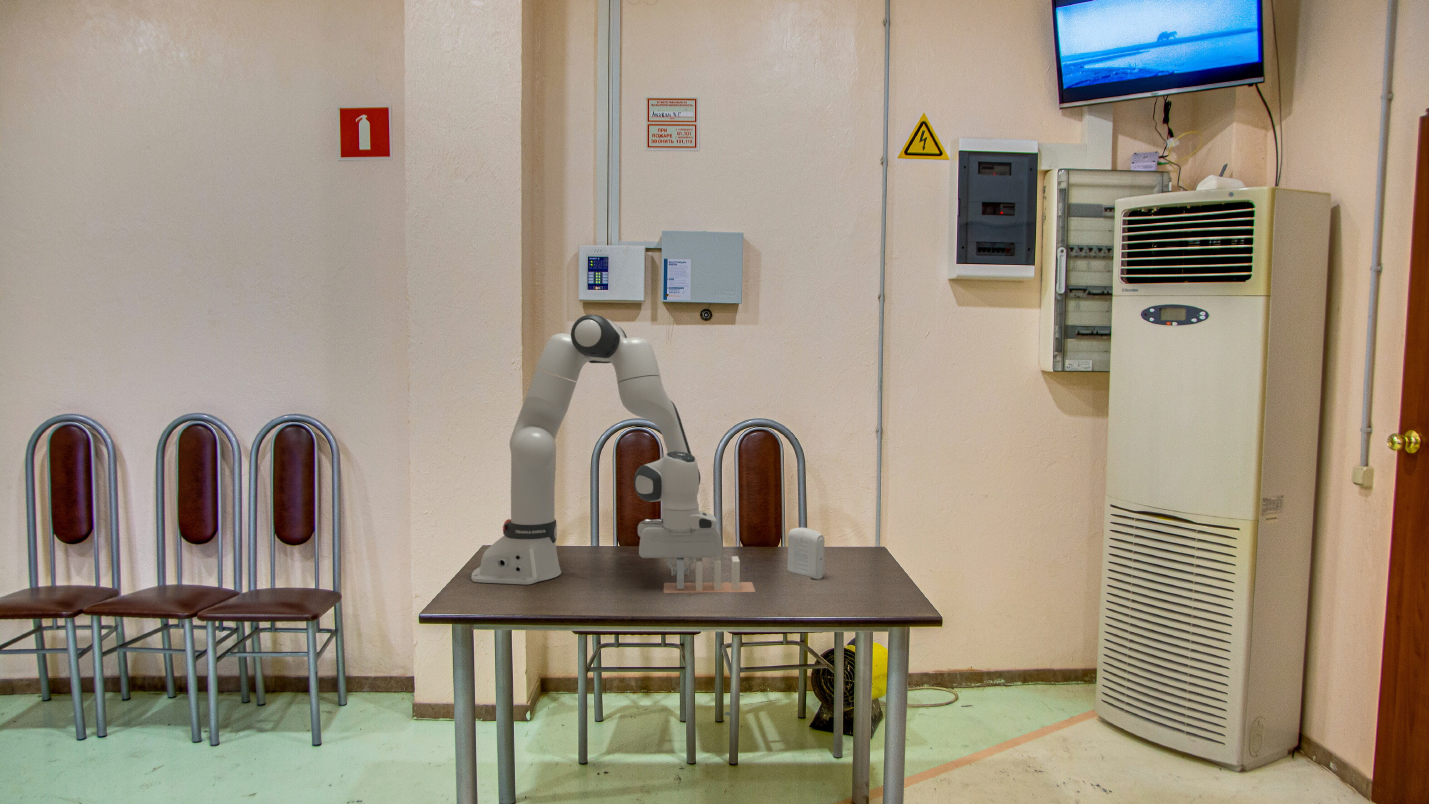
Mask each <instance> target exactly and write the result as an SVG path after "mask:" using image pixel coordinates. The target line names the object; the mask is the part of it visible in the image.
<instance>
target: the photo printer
mask: <svg viewBox="0 0 1429 804" xmlns="http://www.w3.org/2000/svg"><path fill="white" fill-rule="evenodd" d="M787 571H788V572H791V573H794V574H799V575H802V576H805V577H810V578H811V579H813V580H814V579H815V580H821V579H822V578H824V577H823V576H824V573H825V536H824V534H822V533H820V532H819V531H817V530H814V529H811V528H808V527H795V528H791V529H790V530H789V532H788V536H787Z"/></svg>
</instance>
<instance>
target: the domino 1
mask: <svg viewBox="0 0 1429 804" xmlns="http://www.w3.org/2000/svg"><path fill="white" fill-rule="evenodd" d="M676 567H677V576H676V583H677V589H684V583H685V580H684V579H685V576H684V567H685V558H676Z"/></svg>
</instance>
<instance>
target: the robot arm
mask: <svg viewBox="0 0 1429 804" xmlns="http://www.w3.org/2000/svg"><path fill="white" fill-rule="evenodd" d="M570 331H571V332H570V334H569V333H564V332H562V333H561V332H560V333H556V334H554V335H552V336H551V337H550V338H549V339H548V341H547V342H546V344H545V346H544V349H542V352H541V355H540V357H539V359H538V360H537V361H538V362H537V364H536V366H535V369H534V372H533V376H532V378H531V381H530V384H529V386H528V390H527V393H526V396H525V398H524V401H523V404H522V407H521V409H520V412H519V414H518V417H517V420H516V422H515V425H514V428H513V430H512V433H511V436H510V439H509V449H510V455H511V456H510V462H511V463H510V465H511V466H510V473H511V474H510V518H508V519H506V520H505V521H504V523H503V525H502V533H503V536H502V537H500V538H499V539H498V540H495V542H494V543H493V544H491V545H490V546H489V547H488V548H486V550H485V551H484V552H483V555H482V557H481V560H480V566H478V567H477V568H475V569H474V570H473V571H472V573H471V579H470V580H471V581H472V582H474V583H483V584H484V583H486V584H487V583H488V584H491V583H492V584H506V585H507V584H508V585H532V584H536V583H538V582H542V581H547V580H551V579H553V578H556V577H558V576H560V575H561V574H562V569H561V566H560V563H559V559H558V558H559V557H558V553H557V552H558V551H557V545H556V544H557V543H556V542H557V539H558V527H557V526H558V524H557V520H556V518H555V508H556V507H555V486H556V485H555V484H556V469H557V468H556V466H557V464H556V463H557V445H556V438H557V435H558V433H559V430H560V428H561V426H562V422H563V421H564V419H565V417H566V415H567V412H568V409H569V406H570V404H571V401H572V398H573V396H574V395H573V394H574V392H575V388H576V386H577V382H578V379H579V377H580V373H581V371H582V369H583V367H584V366H585V364H587V363H590V364H612V366H613V368H614V371H615V376H616V377H615V378H616V383H617V389H618V394H619V399H620V401H621V403H622V405H623V407H624V408H625V409H626V410H627V411H629V412H630V413H631V414H632V415H634V416H636V417H640V418H642V419H645V420H647V421H649V422H650V423H653V424H654V425H655V426H656V427H657V428H658V429H659V430H660V432H661V435H662V439H663V442H664V446H665V448H666V451H667V453H666V454H664V456H663V457H661V458H659V459H658V460H655V461H652V462H650V463H649V462H648V463H646V464H643V465H640V466H639V467H638V468H637V469H636V472H635V474H634V477H633V487H634V488H633V489H634V490H635V493H636V494H637V496H638V497H639V499H641V500H642V501H644V502H650V503H652V502H662V516H661V517H662V518H659V519H658V518H656V519H655V518H654V519H647V518H645V519H644V520H641V521H640V522H639V523H638V525H637V535H638V537H639V538H640V539H639V544H638V545H639V546H638V555H639V557H641V558H642V559H666V563H667V566H668V568H669V569H670V571H671V572H670V575H671V576H673V577H677V566H674V565H673V559H677V558H684V559H688V560H687V561H688V563H687V566H684V577H685V576H690V572H691V571H690V570H691V568H692V566H693V565H694V564H695V558H702V559H703V558H706V559H708V558H709V559H710V558H712V559H713V558H717V557H720V558H721V555H722V553H723V546H722V539H721V533H720V530H719V529H718V527H717V524H718V522H717V521H718V519H717V518H716V516H715V515H713V514H710V513H708V512H704V511H700V507H699V505H700V504H699V501H698V494H699V491H700V484H701V473H700V469H699V466H698V462H697V459H696V457H695V456H694V455H693V454H692V452H691V449H690V445H689V443H688V438H687V436H686V433H685V429H684V425H683V423H682V419H681V417H680V414H679V411H678V409H677V407H676V405H675V403H674V402H673V401H672V400H671V399H670V398H669V396H668V394H667V392H666V390H665V387H664V386H663V385H664V384H663V382H662V378H661V373H660V368H659V365H658V361H657V356H656V355H655V351H654V349H653V347H652V344H651V343H650V341H648V340H647V339H646V338H643V337H637V336H634V337H627V334H626V332H625V331H624V330H623V328H622V327H620V326H619V325H618V324H616V323H615V322H614V321H613V320H611V319H609V318H605V317H603V316H602V315H599V314H585V315H583V316H581V317H579V318H578V319H576V321H575V322H574V324H573V325H572V327H571V330H570Z"/></svg>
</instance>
